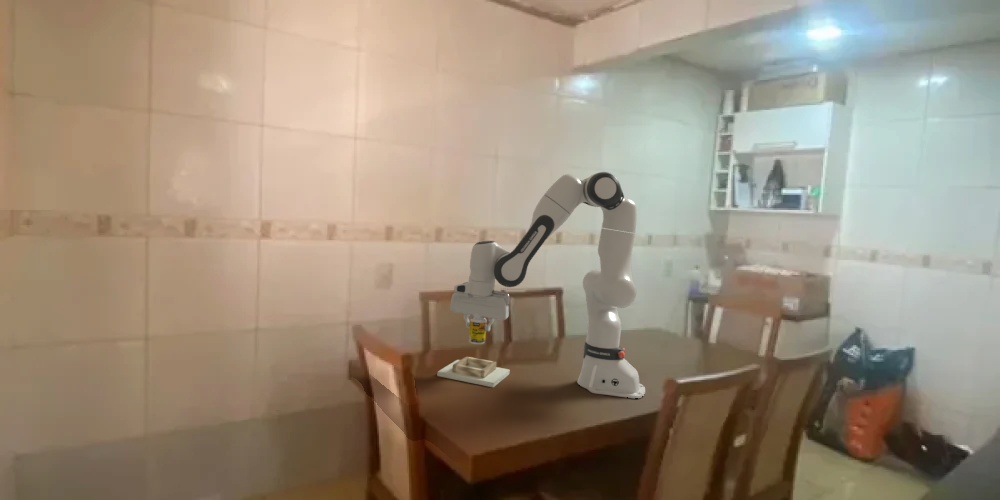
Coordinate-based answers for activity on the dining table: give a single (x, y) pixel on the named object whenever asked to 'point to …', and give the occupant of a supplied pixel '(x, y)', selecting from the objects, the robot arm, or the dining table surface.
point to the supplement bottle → (477, 329)
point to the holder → (475, 371)
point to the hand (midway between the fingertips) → (477, 329)
